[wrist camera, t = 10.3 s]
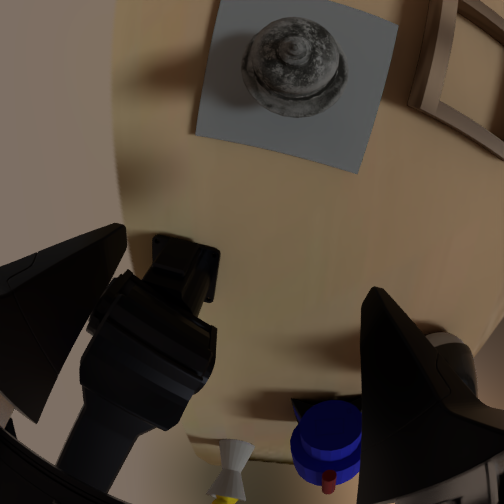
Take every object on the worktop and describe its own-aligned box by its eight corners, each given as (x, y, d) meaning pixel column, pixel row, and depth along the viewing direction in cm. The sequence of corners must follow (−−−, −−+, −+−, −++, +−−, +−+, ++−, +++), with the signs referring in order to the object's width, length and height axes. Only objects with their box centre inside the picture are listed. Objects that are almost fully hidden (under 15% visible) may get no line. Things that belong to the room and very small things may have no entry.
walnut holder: (505, 162, 16) (521, 172, 14) (406, 105, 16) (420, 108, 14) (529, 58, 9) (546, 60, 7) (431, -15, 10) (445, -22, 7)
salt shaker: (233, 59, 16) (147, 33, 6) (307, 18, 13) (322, -65, 3) (281, 127, 18) (262, 186, 8) (355, 89, 16) (436, 100, 6)
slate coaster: (355, 170, 20) (357, 174, 19) (198, 133, 20) (195, 135, 19) (395, 27, 13) (398, 25, 12) (227, -13, 13) (225, -16, 12)
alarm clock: (297, 421, 44) (289, 496, 32) (289, 391, 38) (278, 486, 25) (364, 416, 41) (365, 492, 29) (371, 385, 35) (377, 481, 22)
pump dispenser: (424, 310, 26) (460, 438, 13) (475, 327, 26) (510, 429, 14) (374, 363, 32) (384, 474, 19) (427, 373, 32) (444, 466, 20)
